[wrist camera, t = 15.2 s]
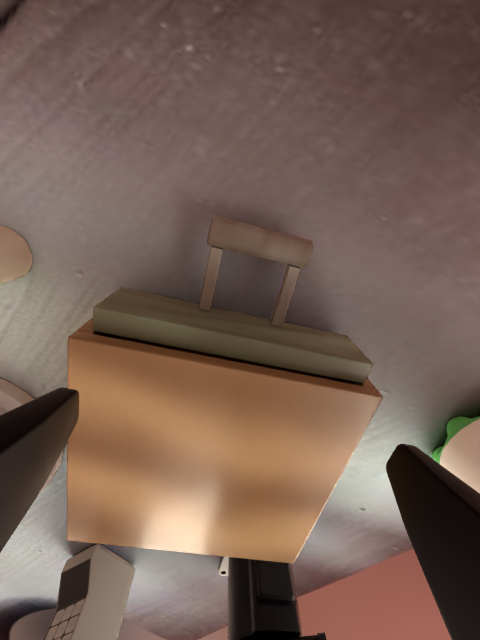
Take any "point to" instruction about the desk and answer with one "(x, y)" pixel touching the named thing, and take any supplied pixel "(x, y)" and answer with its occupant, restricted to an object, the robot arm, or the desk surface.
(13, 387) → the monster figurine
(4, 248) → the glue stick
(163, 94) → the desk surface
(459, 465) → the cup
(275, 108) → the desk surface
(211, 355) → the drawer
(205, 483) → the cabinet
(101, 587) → the vintage mobile phone
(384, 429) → the desk surface
